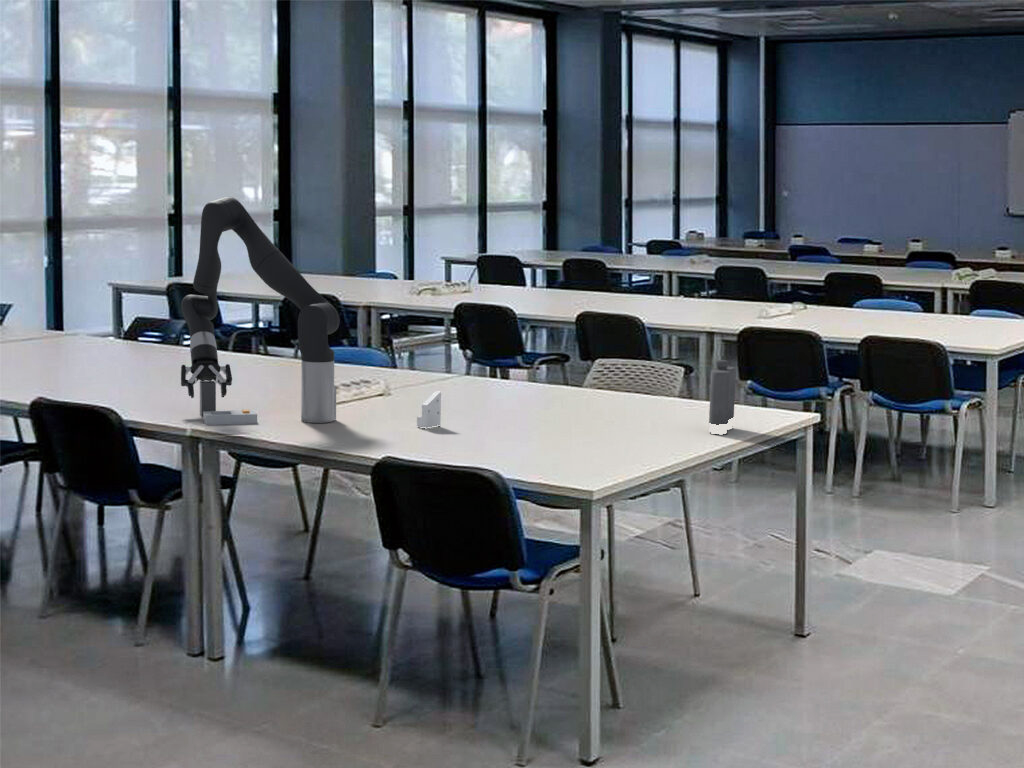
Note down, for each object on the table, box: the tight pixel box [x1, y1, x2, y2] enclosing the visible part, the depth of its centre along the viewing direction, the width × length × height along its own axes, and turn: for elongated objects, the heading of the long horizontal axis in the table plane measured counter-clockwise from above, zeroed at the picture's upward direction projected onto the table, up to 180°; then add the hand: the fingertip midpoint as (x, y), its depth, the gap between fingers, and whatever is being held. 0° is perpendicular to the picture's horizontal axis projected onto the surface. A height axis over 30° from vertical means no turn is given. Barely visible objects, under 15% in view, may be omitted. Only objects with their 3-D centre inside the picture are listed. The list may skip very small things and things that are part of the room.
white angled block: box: [416, 390, 442, 428], centre depth 423 cm, size 4×10×9 cm
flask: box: [708, 359, 737, 425], centre depth 427 cm, size 15×6×20 cm, turn 162°
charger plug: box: [199, 380, 217, 418], centre depth 431 cm, size 4×4×10 cm
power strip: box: [202, 409, 258, 426], centre depth 421 cm, size 14×7×4 cm, turn 107°
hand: (208, 396), depth 430 cm, fingers open, 8 cm apart
